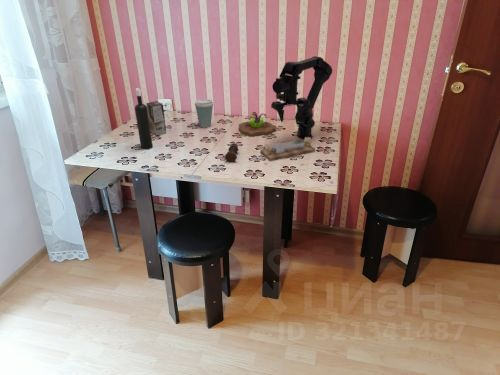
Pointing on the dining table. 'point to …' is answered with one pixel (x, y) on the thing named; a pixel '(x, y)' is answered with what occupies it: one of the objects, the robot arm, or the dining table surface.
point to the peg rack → (273, 156)
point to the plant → (256, 127)
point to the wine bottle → (143, 123)
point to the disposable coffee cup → (204, 112)
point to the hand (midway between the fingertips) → (289, 120)
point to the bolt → (231, 153)
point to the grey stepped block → (287, 146)
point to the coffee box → (156, 118)
